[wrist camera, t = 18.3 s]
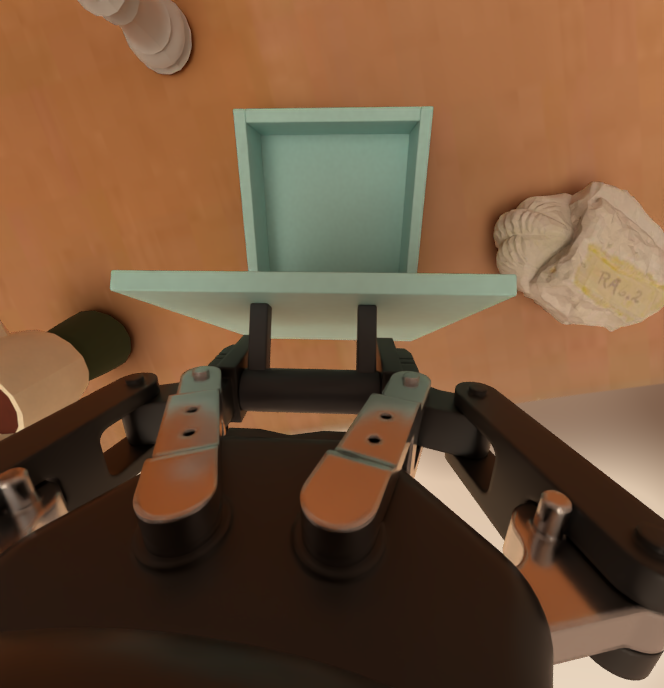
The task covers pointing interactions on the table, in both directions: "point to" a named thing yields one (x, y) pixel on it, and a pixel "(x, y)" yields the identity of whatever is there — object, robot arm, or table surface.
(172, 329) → the table surface
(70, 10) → the table surface
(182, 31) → the rook chess piece
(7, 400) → the character mug
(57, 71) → the table surface
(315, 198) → the storage box
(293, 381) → the green hinged lid
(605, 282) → the fossil replica
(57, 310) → the table surface
